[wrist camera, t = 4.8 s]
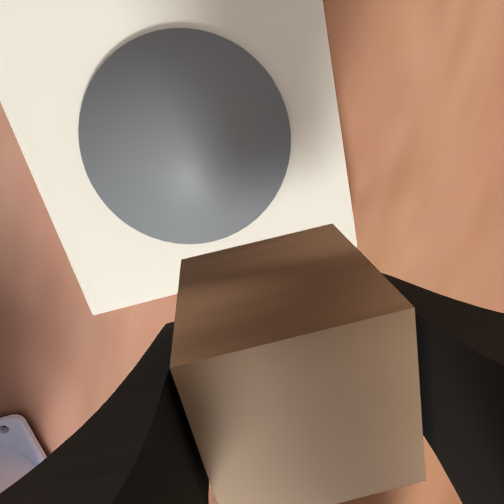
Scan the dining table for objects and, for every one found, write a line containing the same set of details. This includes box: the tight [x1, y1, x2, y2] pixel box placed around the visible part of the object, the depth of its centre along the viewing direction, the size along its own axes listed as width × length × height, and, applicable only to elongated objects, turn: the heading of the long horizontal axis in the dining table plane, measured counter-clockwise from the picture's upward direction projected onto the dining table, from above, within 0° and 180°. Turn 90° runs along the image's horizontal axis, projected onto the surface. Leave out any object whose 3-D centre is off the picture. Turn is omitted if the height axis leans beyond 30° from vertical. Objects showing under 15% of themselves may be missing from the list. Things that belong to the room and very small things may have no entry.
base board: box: [0, 0, 357, 315], centre depth 17 cm, size 12×12×2 cm
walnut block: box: [170, 223, 426, 504], centre depth 11 cm, size 4×4×5 cm
